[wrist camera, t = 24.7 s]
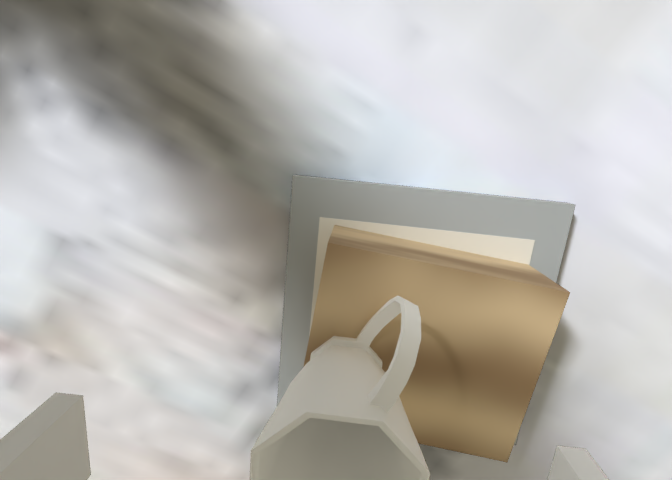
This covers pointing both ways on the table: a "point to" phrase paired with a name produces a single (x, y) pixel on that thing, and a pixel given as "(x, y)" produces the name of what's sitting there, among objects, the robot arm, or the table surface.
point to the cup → (347, 411)
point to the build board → (406, 237)
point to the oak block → (446, 332)
